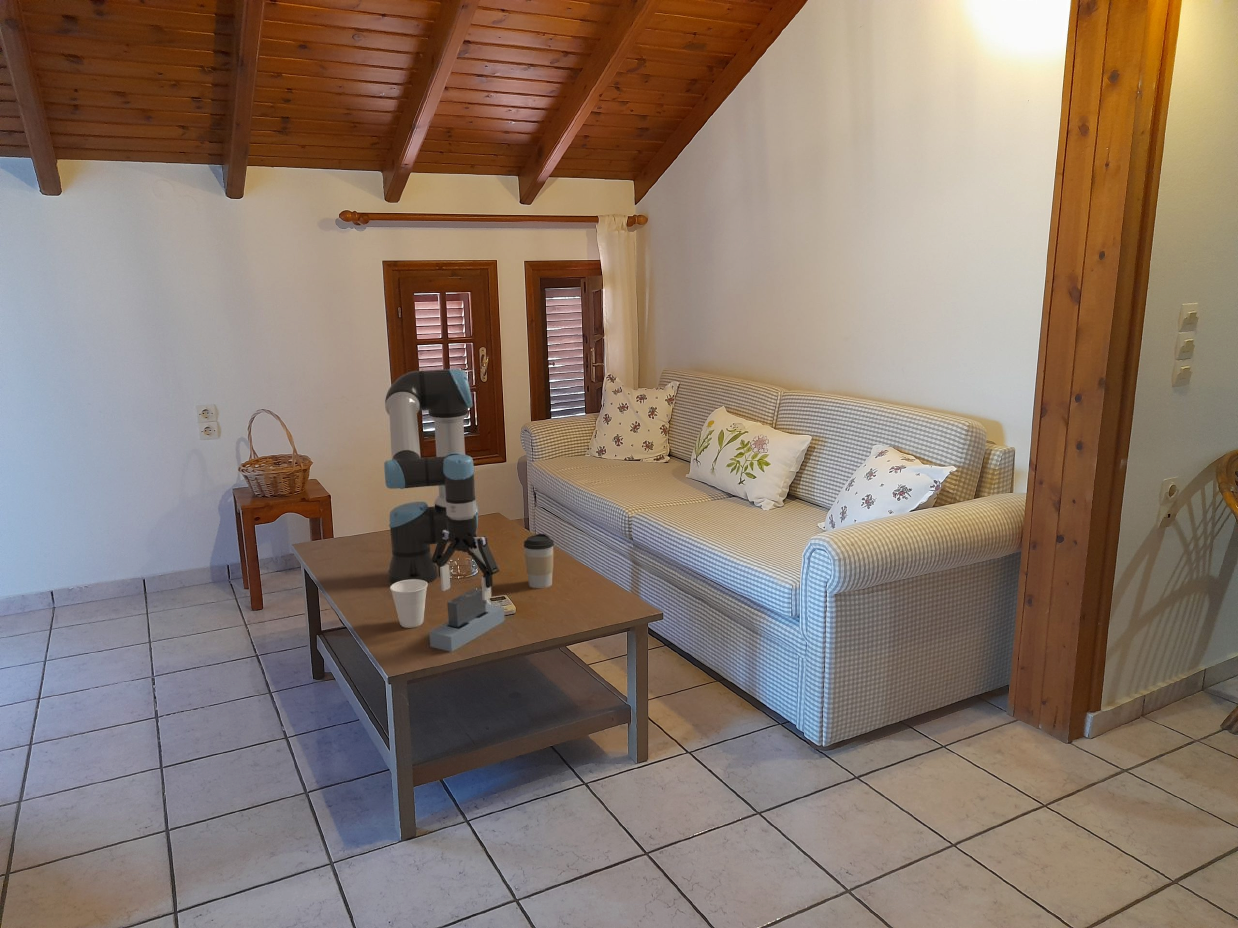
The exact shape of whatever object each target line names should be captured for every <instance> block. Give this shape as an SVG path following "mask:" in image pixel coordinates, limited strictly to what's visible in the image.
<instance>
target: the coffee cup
mask: <svg viewBox="0 0 1238 928" xmlns="http://www.w3.org/2000/svg"><path fill="white" fill-rule="evenodd" d="M554 542H555V541H554V539H552V538H551V537H550V536H548V535H547V534H545V533H537V534H535V535H529V536H528V537H527V539H526V540H524V541H523V548H524V557H525V565H526V573H527V579H528V586H529V587H531V588H533V589H546V588H548V587H551V586H553V571H554V546H555V543H554Z"/></svg>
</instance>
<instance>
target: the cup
mask: <svg viewBox="0 0 1238 928" xmlns="http://www.w3.org/2000/svg"><path fill="white" fill-rule="evenodd" d="M428 585H429V584H428V583H427V582H426V581H423V580H417V579H411V580H403V581H399V582H396V583H394V584H392V583H391V584H390V587H389V590H390V591H391V595H392V598H393V599H392V600H393V602H394V606H395V609H396V614H397V617H398V621H399V624H400V626H402V627H403V628H406V629H407V628H408V629H412V628H417V627H419V626H421V625H422V624H423V623H424V618H425V617H424V616H425V610H426V609H425V606H426V596H427V589H428Z"/></svg>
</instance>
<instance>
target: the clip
mask: <svg viewBox="0 0 1238 928" xmlns="http://www.w3.org/2000/svg"><path fill="white" fill-rule="evenodd" d="M446 603H447V615H448V616H447V618H448V622H449V626H451V627H452V628H456V629H460V628H462V627H464V626H465V624H466V623H468V622H470V621H472V620H473V619H475V618H480V617H482V616H484V613H486V605H485V603H486V600H483V598H482V588H479V587H474V588H473V589H470V590H468V591H467V592H464V593H462V594H460V595H459V596H456V597H455V598H452V599H451V600H449V601H447V602H446Z"/></svg>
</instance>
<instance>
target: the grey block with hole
mask: <svg viewBox="0 0 1238 928" xmlns="http://www.w3.org/2000/svg"><path fill="white" fill-rule="evenodd" d="M485 605H486V613H484V616H482V617H480V618H475V619H473V620H472V621H470V622H468V623H466V624H465V626H464V627H462V628H460V629H456V628H452V627H451V626H449V621H447V622H445V623H443V624H441V625H439V626H437V627H436V628H434V629H432V630H430V631H429V632H428V633H429V643H430V645H429V646H430V647H431V648H435V649H438V650H442V651H448V652H450V653H452V652H454V651H456V650H457V649H459V648H461V647H463V646H464V645H466V644H467V643H470V642H471V641H474V640H475V639H476V638H479V637H480V636H482V635H484V634H485V633H487V632H488V631H490V630H492V629H493V628H495V627H498V626H499V625H500V624H502V623H504V622H505V621H506V619H505V607H504V606H500V605H496V604H490V603H486V602H485Z"/></svg>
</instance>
